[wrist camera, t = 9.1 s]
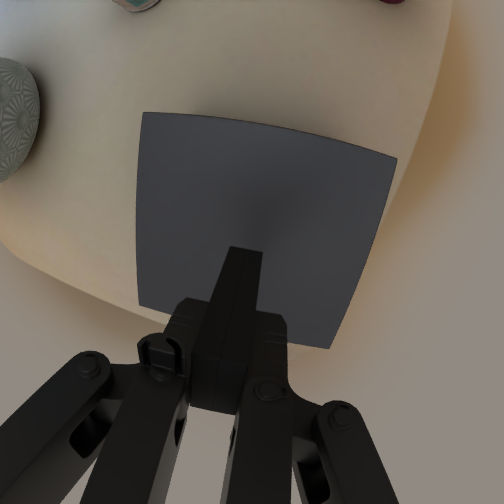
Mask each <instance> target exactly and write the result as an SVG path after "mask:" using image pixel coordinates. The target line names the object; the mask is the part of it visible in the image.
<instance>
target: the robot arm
mask: <svg viewBox="0 0 504 504" xmlns="http://www.w3.org/2000/svg"><path fill="white" fill-rule="evenodd" d="M262 257H263V252H261V251H255V250H250V249H245V248H239V247H234V246H230V247H229V250H228V252H227V255H226V258H225V260H224V263H223V266H222V269H221V271H220V274H219V277H218V279H217V282H216V285H215V288H214V290H213V293H212V296H211V299H210V301H209V302H207V301H202V300H198V299H193V298H189V297H186V298H185V299H184V300H182V301H181V302H179V303H178V304H177V306H176V308H175V310H174V312H173V314H172V316H171V318H170V320H169V323H168V324H167V326H166V328H165V330H164V332H163V333H153V334H149V335H147V336H145V337H143V338H142V339H141V340H140V341H139V342H138V344H137V348H138V354H139V360H140V363H137V364H110V362H109V360H108V358H107V357H106V356H105V355H104V354H102V353H99V352H97V351H85V352H80V353H79V354H77V355H76V356H74V357H73V358H72V359H70V360H69V361H68V362H67V363H66V364H65V365H64V366H63V367H62V368H61V369H60V370H58V371H57V372H56V373H55V374H54V375H53V376H52V377H51V378H50V379H49V380H48V381H47V382H45V384H43V385H42V386H41V387H40V388H39V389H38V390H37V391H36V392H35V393H34V394H33V395H32V396H31V397H30V398H29V399H28V400H27V401H26V402H25V403H24V404H23V405H21V407H19V408H18V409H17V410H16V411H15V412H14V413H13V414H12V415H11V416H10V417H9V418H8V419H7V420H6V421H5V422H4V423H3V424H2V425H1V426H0V504H60V503H61V501H62V500H63V499H64V498H65V496H66V495H67V494H68V493H69V492H70V490H71V489H72V488H73V487H74V485H75V484H76V483H77V482H78V480H79V479H80V478H81V477H82V476H83V474H84V473H85V472H86V471H87V469H88V468H89V467H90V466H91V464H92V463H93V462H94V461H95V459H96V458H97V457H98V458H97V461H96V463H95V465H94V468H93V470H92V473H91V475H90V477H89V480H88V483H87V485H86V488H85V490H84V493H83V496H82V498H81V501H80V504H165V500H166V496H167V492H168V488H169V484H170V481H171V477H172V473H173V469H174V465H175V462H176V458H177V454H178V451H179V447H180V443H181V440H182V436H183V433H184V429H185V425H186V421H187V410H188V407H189V403H190V406H192V407H196V408H201V409H206V410H210V411H215V412H220V413H225V414H231V415H235V421H234V425H233V429H232V432H231V436H230V447H229V452H228V459H227V465H226V470H225V476H224V482H223V488H222V494H221V500H220V504H291V478H292V477H291V476H292V467H293V471H294V475H295V479H296V482H297V487H298V490H299V494H300V498H301V501H302V504H399V502H398V500H397V497H396V495H395V492H394V490H393V488H392V485H391V483H390V480H389V478H388V476H387V473H386V471H385V469H384V466H383V464H382V461H381V459H380V457H379V454H378V452H377V450H376V448H375V445H374V443H373V441H372V438H371V436H370V434H369V432H368V430H367V427H366V425H365V422H364V420H363V418H362V416H361V414H360V413H359V411H358V410H357V408H355V407H354V406H353V405H351V404H350V403H347V402H344V401H335V400H333V401H330V402H327V403H325V404H324V405H323V406H320V405H317V404H315V403H312V402H310V401H307V400H305V399H303V398H301V397H300V396H298V395H297V394H296V393H295V392H294V391H293V390H292V389H291V387H290V385H289V383H288V377H287V376H288V373H287V372H288V370H287V369H288V368H287V367H288V365H287V364H288V363H287V324H286V322H285V320H284V318H283V317H282V315H281V314H275V313H269V312H263V311H258V310H256V306H257V298H258V290H259V282H260V273H261V265H262Z"/></svg>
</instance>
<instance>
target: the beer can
mask: <svg viewBox="0 0 504 504" xmlns="http://www.w3.org/2000/svg"><path fill="white" fill-rule="evenodd" d="M112 1H114V2H116V3H117V4H119V5H121V6H122V7H124V8H125V9H126V10H128V11H132V12H137V11H142V10H145V9H147V8H149V7H151V6H152V5H154V4H155V3H156V2H158V1H159V0H112Z"/></svg>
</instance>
